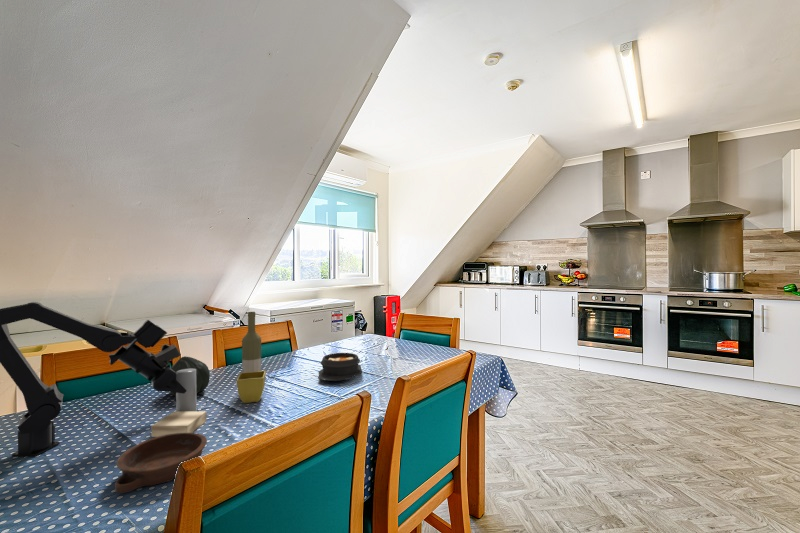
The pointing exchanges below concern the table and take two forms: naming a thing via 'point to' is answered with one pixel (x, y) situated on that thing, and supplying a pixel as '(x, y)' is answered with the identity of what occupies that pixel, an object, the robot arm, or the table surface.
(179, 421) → the base block
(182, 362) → the squash
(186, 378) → the tumbler
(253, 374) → the flower pot
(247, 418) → the table surface
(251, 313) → the bottle
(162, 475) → the dish
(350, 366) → the casserole
